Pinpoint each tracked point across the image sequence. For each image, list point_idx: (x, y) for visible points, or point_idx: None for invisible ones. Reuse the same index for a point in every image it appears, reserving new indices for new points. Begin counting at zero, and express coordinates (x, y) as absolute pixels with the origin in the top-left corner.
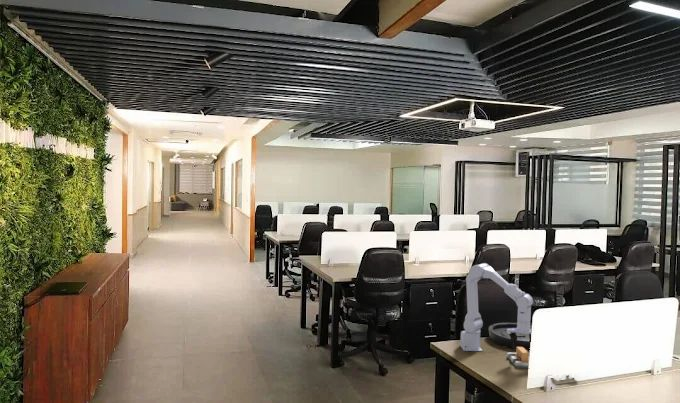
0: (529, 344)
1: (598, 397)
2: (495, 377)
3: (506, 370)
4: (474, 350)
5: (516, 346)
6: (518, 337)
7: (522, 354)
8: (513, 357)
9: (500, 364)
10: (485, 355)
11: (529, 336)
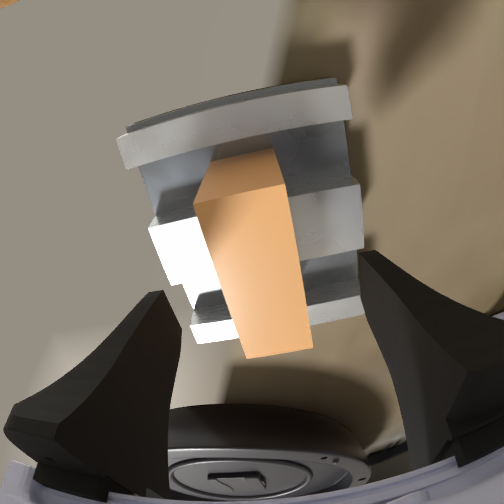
0: (174, 364)
1: None
2: None
3: (418, 19)
4: (500, 315)
5: (261, 415)
6: (239, 470)
7: (281, 175)
8: (348, 216)
9: (441, 137)
10: (474, 277)
11: (164, 461)
